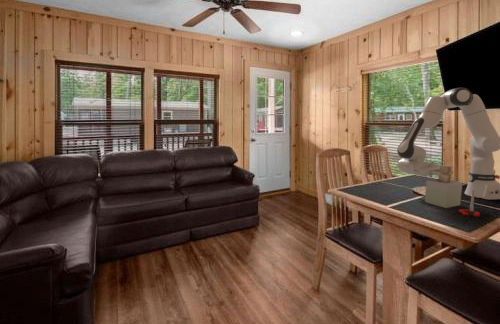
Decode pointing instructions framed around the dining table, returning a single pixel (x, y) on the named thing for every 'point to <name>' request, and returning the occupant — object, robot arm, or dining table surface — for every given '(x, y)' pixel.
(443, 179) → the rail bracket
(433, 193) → the white tissue box
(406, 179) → the dining table surface
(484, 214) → the dining table surface
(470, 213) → the red base grey post
